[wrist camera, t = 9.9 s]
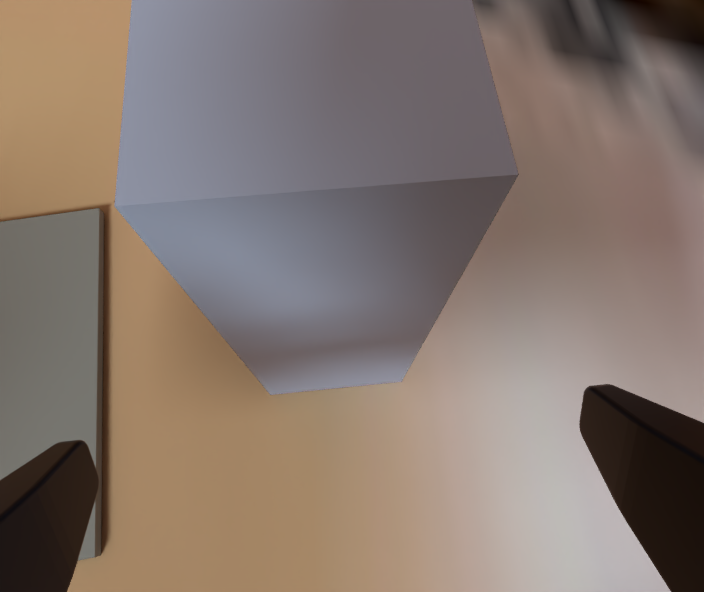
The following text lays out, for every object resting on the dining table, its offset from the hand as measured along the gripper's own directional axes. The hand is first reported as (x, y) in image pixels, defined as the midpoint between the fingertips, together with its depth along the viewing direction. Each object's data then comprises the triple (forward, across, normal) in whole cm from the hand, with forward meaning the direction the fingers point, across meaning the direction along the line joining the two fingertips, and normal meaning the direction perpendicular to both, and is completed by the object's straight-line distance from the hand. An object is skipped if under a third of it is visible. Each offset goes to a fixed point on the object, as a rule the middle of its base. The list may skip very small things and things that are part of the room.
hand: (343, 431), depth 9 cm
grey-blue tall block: (+8, 0, +2) cm, 9 cm away
